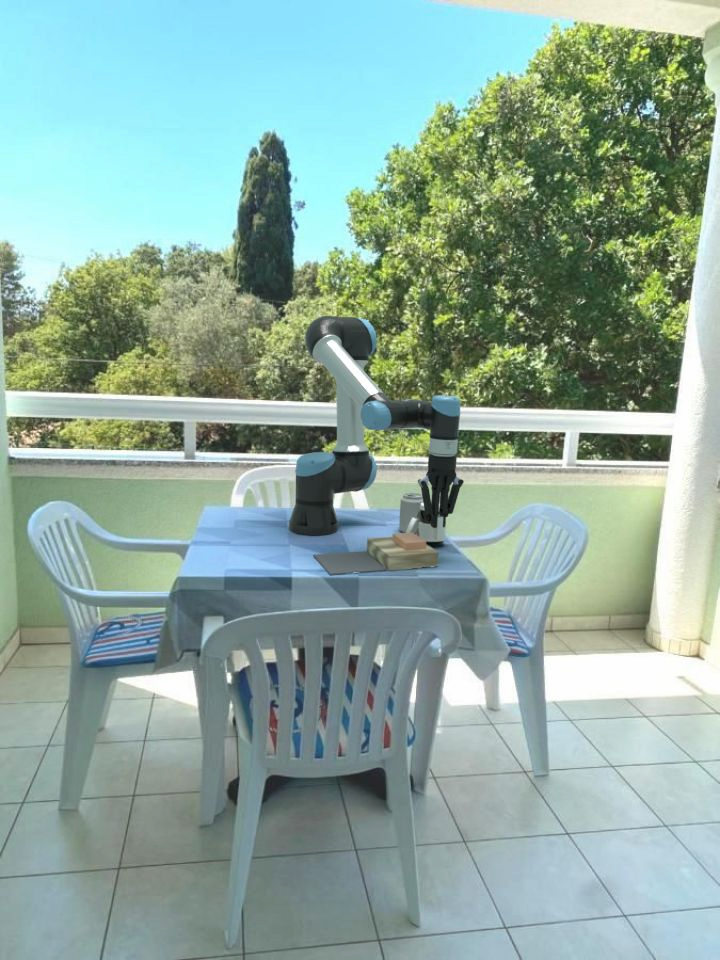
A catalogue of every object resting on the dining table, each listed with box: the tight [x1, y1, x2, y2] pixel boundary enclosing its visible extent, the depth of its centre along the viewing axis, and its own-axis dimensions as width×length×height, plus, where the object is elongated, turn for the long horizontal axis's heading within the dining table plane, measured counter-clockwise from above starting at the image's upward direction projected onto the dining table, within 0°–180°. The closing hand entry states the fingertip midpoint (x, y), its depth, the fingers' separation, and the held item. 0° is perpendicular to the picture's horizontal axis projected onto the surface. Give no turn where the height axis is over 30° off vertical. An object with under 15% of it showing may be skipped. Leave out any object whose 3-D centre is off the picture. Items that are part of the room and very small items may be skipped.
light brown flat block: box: [391, 532, 426, 550], centre depth 182 cm, size 9×6×2 cm, turn 20°
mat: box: [312, 550, 388, 576], centre depth 177 cm, size 16×15×1 cm
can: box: [398, 492, 423, 534], centre depth 209 cm, size 8×8×12 cm
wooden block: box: [366, 536, 439, 572], centre depth 182 cm, size 16×14×4 cm
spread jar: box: [406, 502, 447, 547], centre depth 199 cm, size 12×11×12 cm
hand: (437, 538), depth 185 cm, fingers closed
